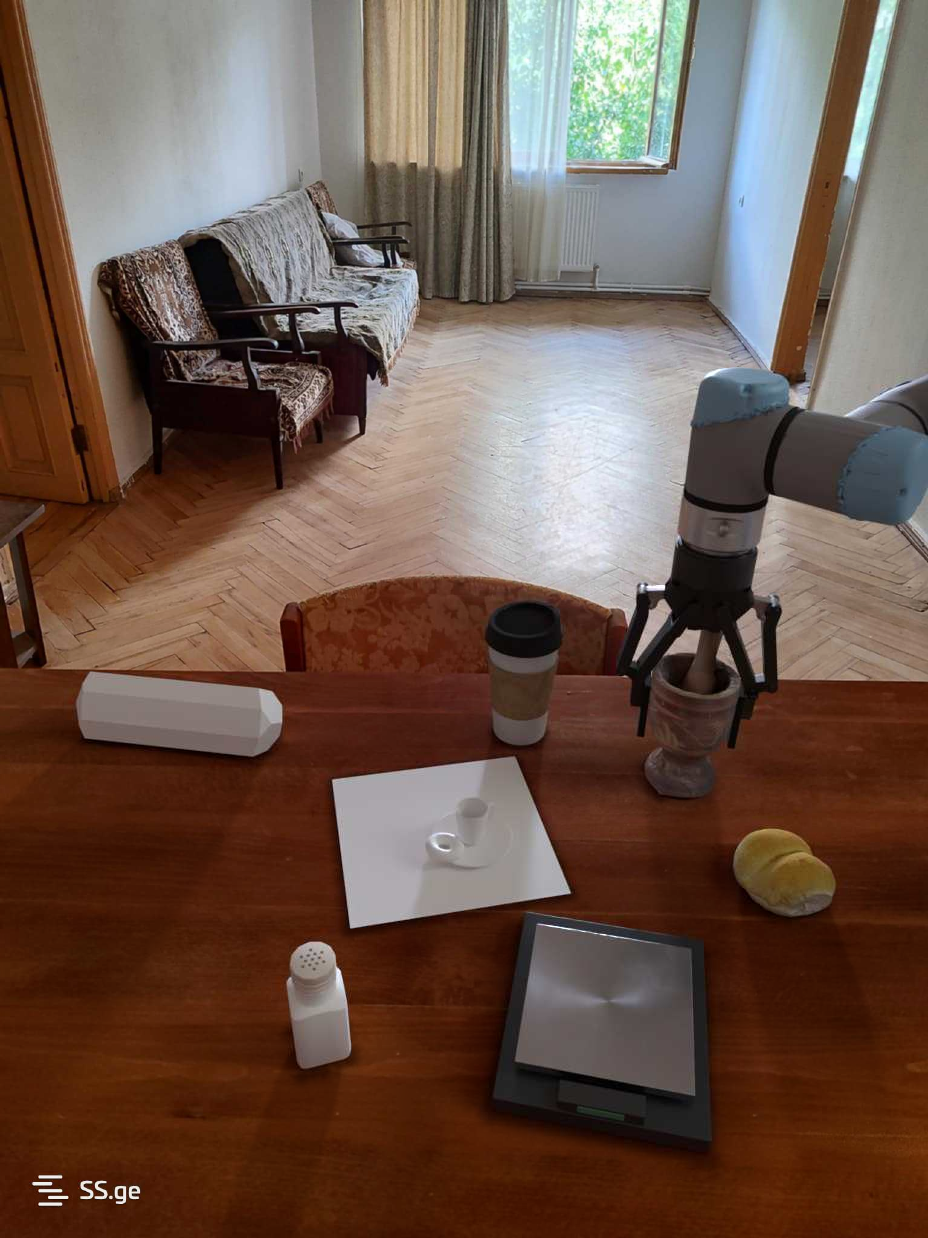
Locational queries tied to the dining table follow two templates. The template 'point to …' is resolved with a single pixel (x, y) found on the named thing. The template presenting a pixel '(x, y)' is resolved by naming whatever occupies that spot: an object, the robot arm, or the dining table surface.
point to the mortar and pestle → (690, 717)
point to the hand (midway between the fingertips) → (685, 734)
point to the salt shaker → (318, 1006)
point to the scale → (595, 1101)
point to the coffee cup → (522, 668)
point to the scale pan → (609, 1012)
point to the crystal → (178, 714)
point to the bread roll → (783, 873)
